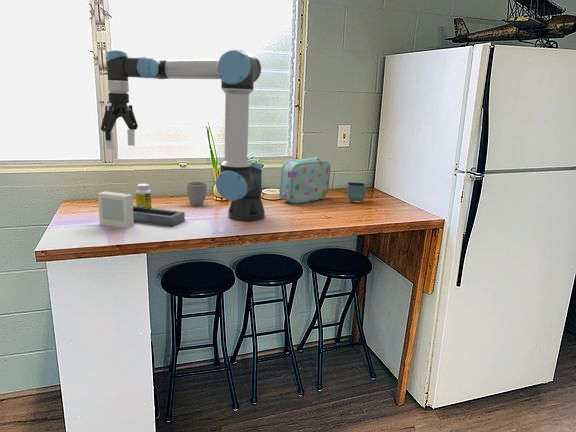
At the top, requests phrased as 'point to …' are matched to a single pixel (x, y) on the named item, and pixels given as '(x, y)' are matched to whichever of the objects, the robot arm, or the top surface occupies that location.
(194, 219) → the top surface
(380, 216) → the top surface
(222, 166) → the robot arm
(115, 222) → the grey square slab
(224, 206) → the top surface
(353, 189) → the flower pot
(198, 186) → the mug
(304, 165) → the lunch box
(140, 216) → the grey rectangular tray
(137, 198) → the pill bottle
